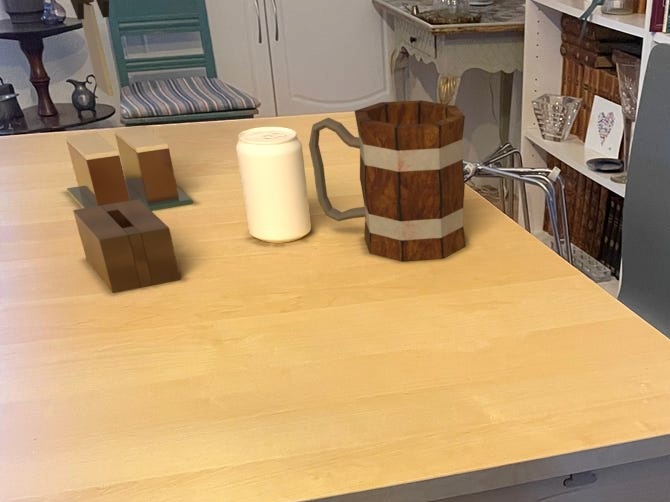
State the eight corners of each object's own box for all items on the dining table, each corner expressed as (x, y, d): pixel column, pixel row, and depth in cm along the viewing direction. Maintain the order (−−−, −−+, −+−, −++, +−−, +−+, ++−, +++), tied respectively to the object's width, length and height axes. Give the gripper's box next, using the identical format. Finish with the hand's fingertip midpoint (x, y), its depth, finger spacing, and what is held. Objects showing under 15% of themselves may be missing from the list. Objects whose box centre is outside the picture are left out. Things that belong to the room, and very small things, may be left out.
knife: (90, 87, 127) (47, -90, 114) (108, 85, 128) (68, -90, 115) (102, 97, 123) (59, -85, 110) (120, 94, 124) (80, -86, 111)
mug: (475, 228, 126) (475, 103, 116) (455, 265, 116) (453, 131, 106) (334, 219, 128) (322, 95, 118) (303, 254, 118) (287, 122, 108)
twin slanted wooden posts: (67, 192, 136) (52, 134, 131) (162, 178, 142) (151, 122, 137) (92, 220, 127) (77, 159, 122) (192, 203, 133) (181, 144, 128)
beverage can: (237, 233, 124) (221, 133, 116) (289, 219, 128) (276, 122, 120) (271, 250, 119) (257, 147, 111) (323, 235, 124) (313, 135, 115)
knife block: (86, 260, 116) (72, 209, 112) (150, 248, 119) (139, 199, 115) (113, 293, 109) (99, 240, 105) (180, 279, 112) (169, 227, 108)
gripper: (86, -144, 122) (153, 26, 123) (-41, -142, 116) (31, 37, 117) (85, -198, 116) (156, -18, 116) (-50, -199, 110) (26, -8, 110)
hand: (93, 10), depth 117 cm, fingers closed on knife, 2 cm apart
